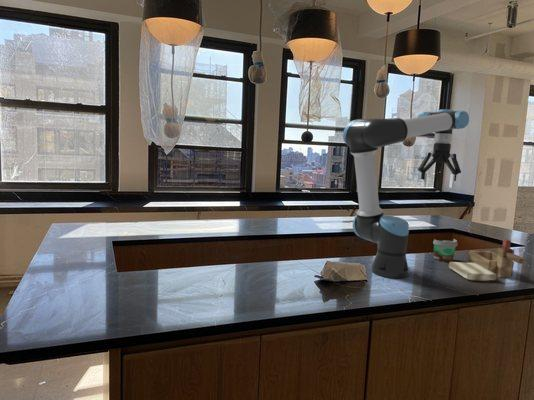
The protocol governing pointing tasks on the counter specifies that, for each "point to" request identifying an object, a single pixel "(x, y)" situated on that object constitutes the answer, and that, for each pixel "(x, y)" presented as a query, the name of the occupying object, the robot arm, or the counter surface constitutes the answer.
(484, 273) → the cream flat piece
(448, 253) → the food container
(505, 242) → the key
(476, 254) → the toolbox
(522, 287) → the counter surface
